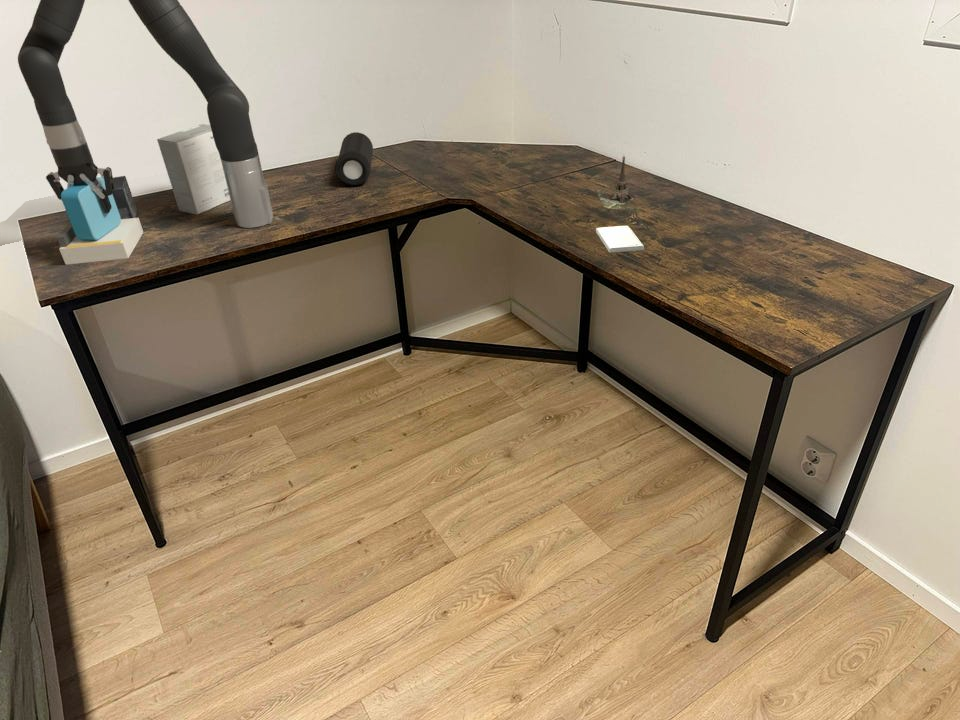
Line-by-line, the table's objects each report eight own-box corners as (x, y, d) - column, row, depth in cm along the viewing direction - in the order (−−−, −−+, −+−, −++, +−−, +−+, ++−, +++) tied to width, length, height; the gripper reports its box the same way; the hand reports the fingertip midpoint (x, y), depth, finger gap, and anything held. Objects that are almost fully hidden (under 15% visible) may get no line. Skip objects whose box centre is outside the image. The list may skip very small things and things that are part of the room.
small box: (113, 216, 183) (99, 178, 178) (138, 212, 185) (126, 174, 179) (110, 230, 175) (95, 191, 169) (136, 225, 177) (123, 187, 171)
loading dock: (143, 232, 173) (135, 208, 169) (128, 258, 160) (119, 232, 156) (85, 237, 171) (76, 213, 167) (65, 264, 158) (55, 239, 154)
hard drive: (644, 245, 154) (628, 224, 165) (609, 248, 154) (595, 227, 164) (643, 252, 155) (627, 231, 166) (609, 254, 155) (595, 233, 165)
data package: (105, 222, 168) (88, 175, 162) (122, 222, 168) (106, 175, 161) (77, 242, 158) (58, 193, 152) (95, 242, 158) (76, 193, 151)
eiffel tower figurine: (595, 192, 188) (598, 144, 181) (630, 191, 188) (635, 143, 181) (604, 212, 176) (608, 161, 169) (642, 211, 176) (648, 160, 168)
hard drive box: (221, 193, 196) (203, 123, 185) (239, 197, 193) (222, 126, 182) (177, 211, 185) (155, 138, 174) (196, 215, 182) (175, 141, 170)
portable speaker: (344, 162, 217) (340, 130, 212) (375, 160, 218) (371, 129, 212) (337, 189, 196) (332, 155, 190) (371, 187, 197) (367, 153, 191)
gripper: (105, 135, 155) (129, 205, 165) (39, 140, 153) (67, 211, 163) (96, 144, 149) (121, 216, 158) (27, 150, 147) (56, 222, 157)
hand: (93, 213), depth 160 cm, fingers open, 5 cm apart
